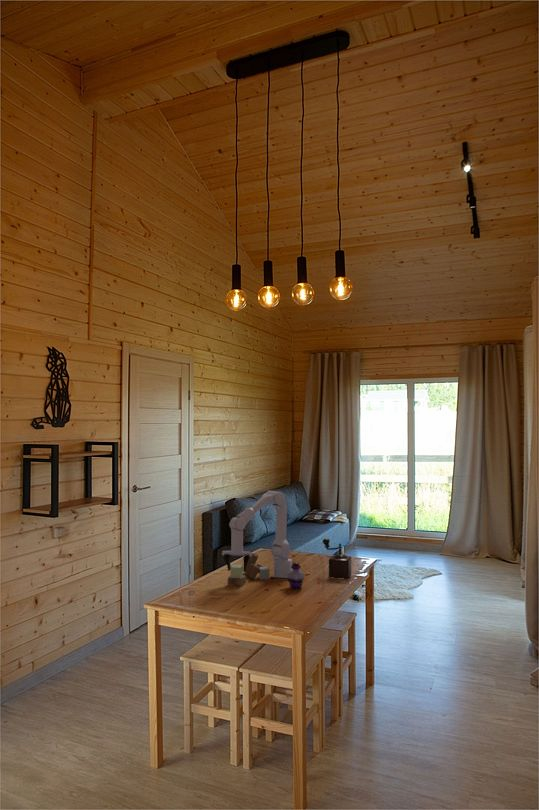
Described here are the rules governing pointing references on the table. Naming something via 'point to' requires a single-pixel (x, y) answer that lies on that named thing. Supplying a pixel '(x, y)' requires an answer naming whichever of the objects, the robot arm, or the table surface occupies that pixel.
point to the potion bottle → (295, 576)
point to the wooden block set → (252, 566)
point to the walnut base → (237, 581)
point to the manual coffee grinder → (338, 563)
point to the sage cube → (236, 571)
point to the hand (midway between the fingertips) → (236, 570)
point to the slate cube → (264, 572)
